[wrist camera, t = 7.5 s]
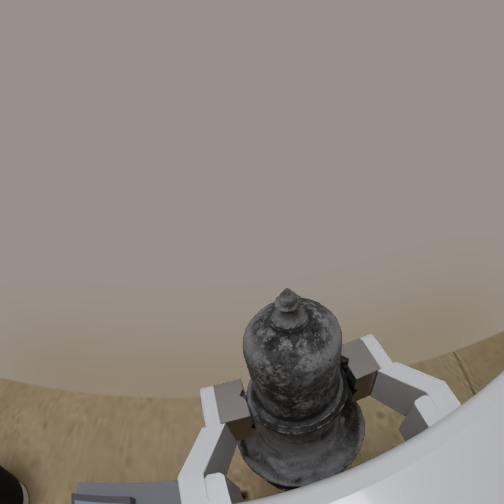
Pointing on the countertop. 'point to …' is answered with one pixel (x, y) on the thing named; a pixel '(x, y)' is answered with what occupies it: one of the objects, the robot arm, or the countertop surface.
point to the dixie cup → (11, 489)
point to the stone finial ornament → (298, 395)
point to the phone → (101, 499)
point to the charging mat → (136, 491)
